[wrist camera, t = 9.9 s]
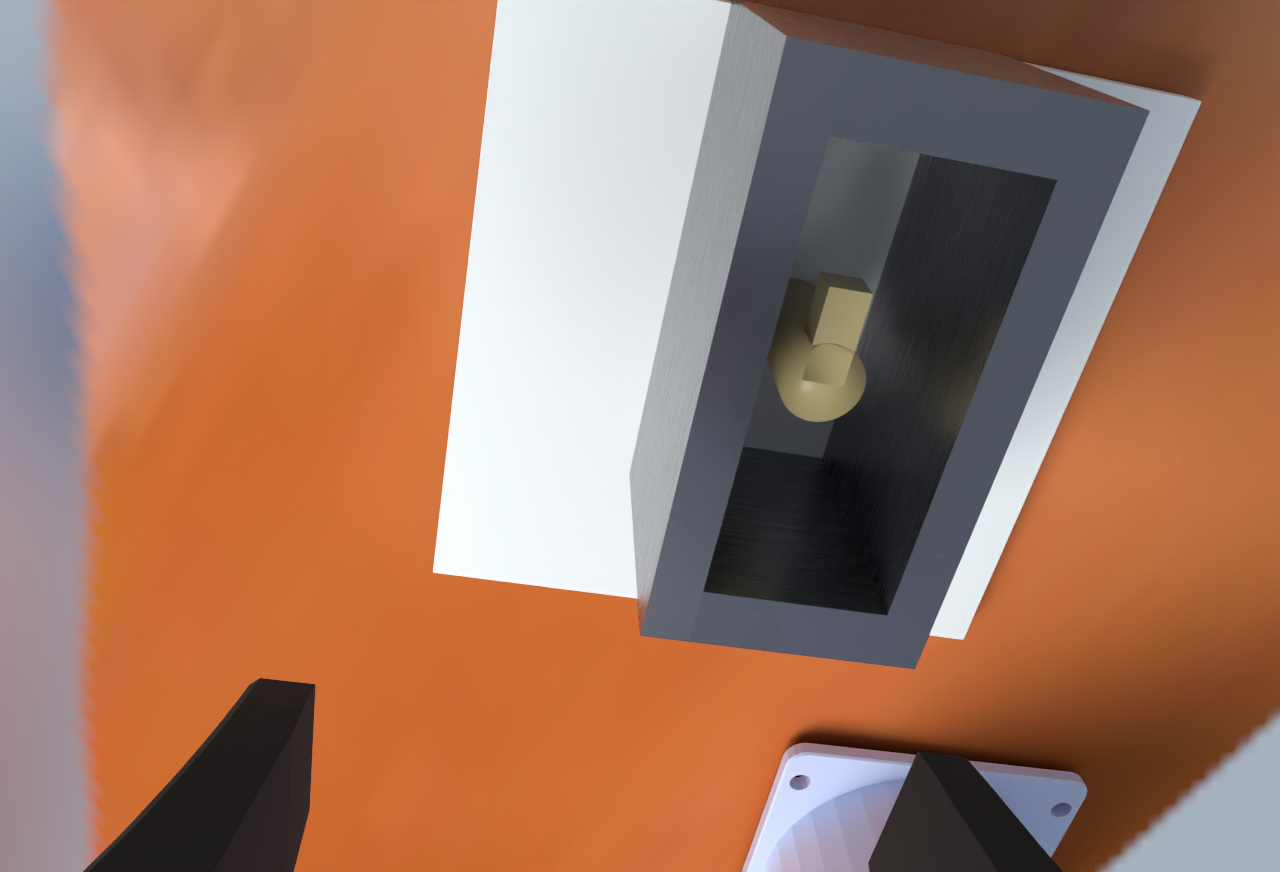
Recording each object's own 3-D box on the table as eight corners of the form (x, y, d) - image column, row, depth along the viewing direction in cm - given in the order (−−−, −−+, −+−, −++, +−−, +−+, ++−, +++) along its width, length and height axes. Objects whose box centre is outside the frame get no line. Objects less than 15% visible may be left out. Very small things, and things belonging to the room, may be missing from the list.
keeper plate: (954, 622, 23) (1012, 738, 20) (436, 555, 21) (409, 669, 18) (1183, 94, 17) (1313, 139, 14) (506, -46, 16) (484, -32, 13)
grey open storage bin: (846, 504, 21) (914, 669, 16) (629, 473, 20) (640, 635, 16) (1000, 53, 16) (1149, 110, 12) (732, -3, 16) (786, 36, 11)
